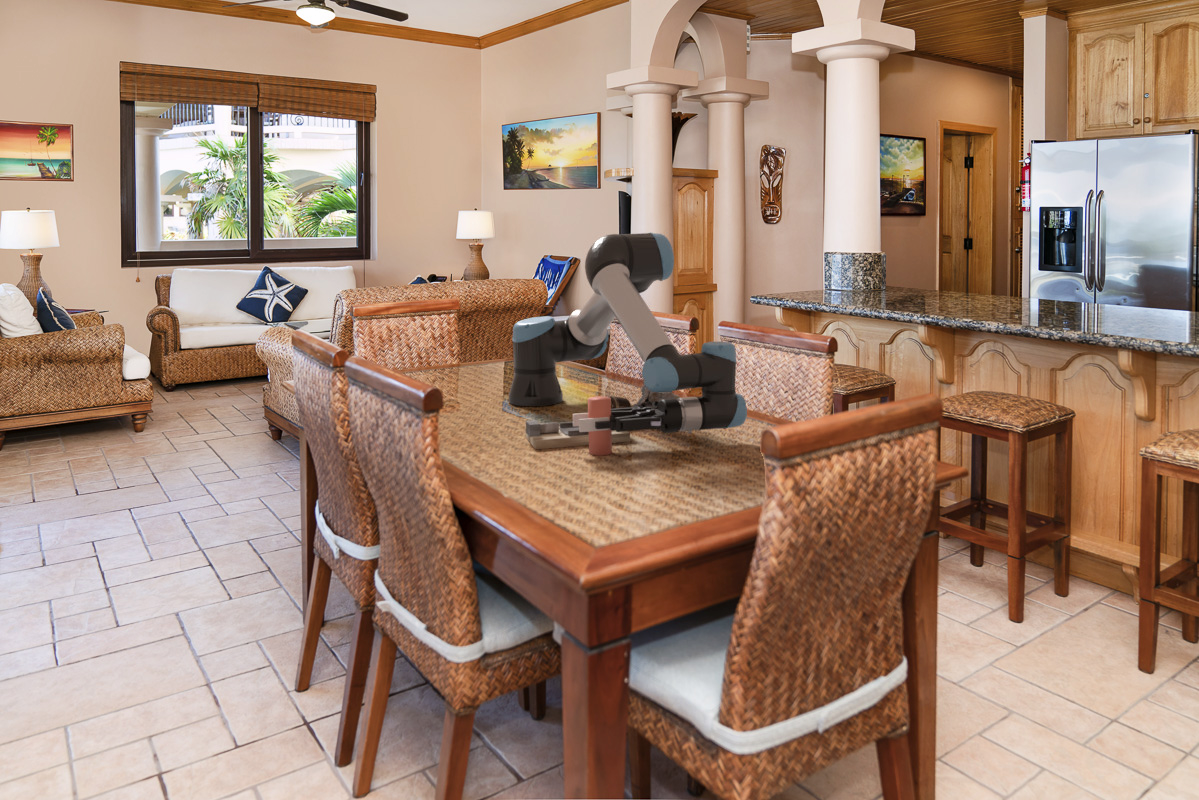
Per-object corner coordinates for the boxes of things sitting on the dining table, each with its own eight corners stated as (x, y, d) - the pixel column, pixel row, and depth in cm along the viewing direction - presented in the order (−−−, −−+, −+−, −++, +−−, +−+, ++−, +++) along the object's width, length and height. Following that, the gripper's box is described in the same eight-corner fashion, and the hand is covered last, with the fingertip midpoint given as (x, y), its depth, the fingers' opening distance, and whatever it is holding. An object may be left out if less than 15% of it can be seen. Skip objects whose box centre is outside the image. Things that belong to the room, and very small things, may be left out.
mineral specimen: (642, 428, 240) (662, 432, 229) (617, 407, 236) (636, 409, 226) (666, 394, 242) (686, 396, 231) (641, 373, 238) (661, 374, 228)
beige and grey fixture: (523, 437, 212) (522, 417, 211) (617, 429, 218) (616, 410, 217) (533, 449, 200) (532, 428, 199) (632, 441, 206) (631, 420, 205)
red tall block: (584, 452, 197) (582, 398, 195) (601, 448, 200) (600, 395, 198) (599, 456, 193) (598, 401, 191) (616, 452, 196) (615, 398, 194)
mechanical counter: (594, 398, 229) (602, 396, 219) (643, 390, 231) (652, 389, 221) (599, 426, 229) (606, 426, 219) (647, 418, 231) (657, 418, 221)
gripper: (692, 440, 192) (587, 449, 186) (664, 423, 209) (566, 430, 203) (692, 406, 191) (586, 414, 185) (664, 391, 208) (566, 398, 202)
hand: (576, 422), depth 194 cm, fingers closed on red tall block, 5 cm apart
